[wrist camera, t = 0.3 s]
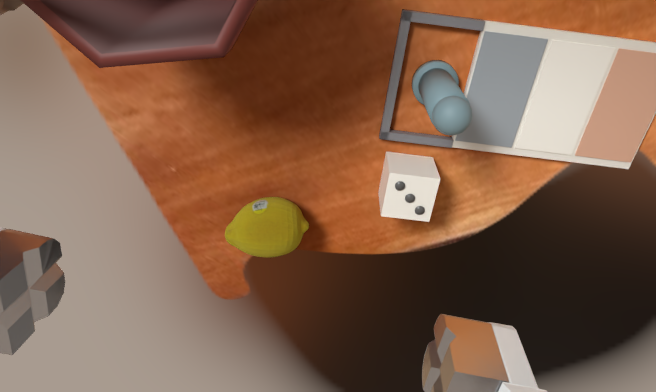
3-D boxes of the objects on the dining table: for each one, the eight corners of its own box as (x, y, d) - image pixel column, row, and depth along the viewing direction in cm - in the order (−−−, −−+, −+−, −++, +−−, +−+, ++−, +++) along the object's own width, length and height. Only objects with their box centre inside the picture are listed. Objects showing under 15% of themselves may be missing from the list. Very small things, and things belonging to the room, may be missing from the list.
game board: (402, 9, 52) (403, 10, 51) (683, 45, 52) (688, 47, 51) (379, 135, 59) (379, 138, 58) (625, 166, 60) (629, 169, 59)
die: (386, 151, 60) (389, 173, 55) (433, 157, 60) (441, 179, 55) (378, 193, 63) (380, 217, 58) (423, 198, 63) (430, 223, 58)
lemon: (311, 188, 63) (307, 220, 56) (310, 236, 67) (306, 272, 60) (231, 184, 63) (216, 215, 57) (235, 232, 67) (221, 267, 60)
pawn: (416, 57, 54) (434, 92, 43) (461, 63, 54) (491, 99, 43) (407, 100, 57) (422, 144, 45) (450, 106, 57) (475, 151, 45)
